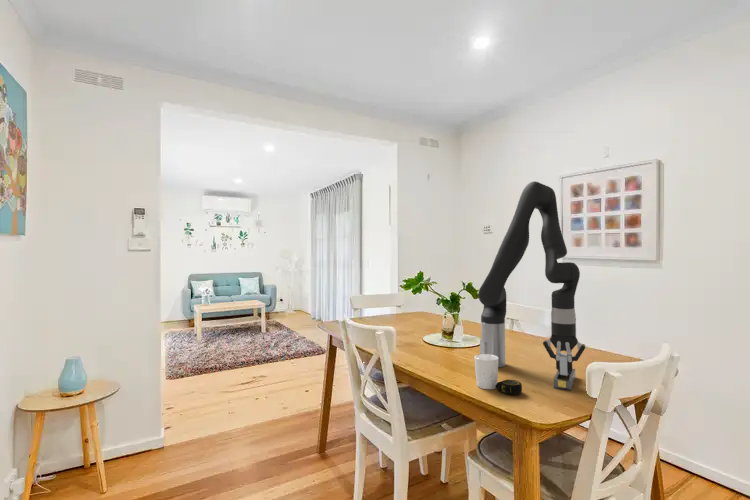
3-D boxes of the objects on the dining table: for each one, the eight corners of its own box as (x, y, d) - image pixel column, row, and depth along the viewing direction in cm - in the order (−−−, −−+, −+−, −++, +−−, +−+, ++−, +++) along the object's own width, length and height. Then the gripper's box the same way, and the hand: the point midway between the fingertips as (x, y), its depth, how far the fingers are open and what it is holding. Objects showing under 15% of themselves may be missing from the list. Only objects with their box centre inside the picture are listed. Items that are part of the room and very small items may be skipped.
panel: (567, 375, 128) (566, 357, 128) (559, 374, 129) (559, 356, 129) (568, 371, 132) (568, 354, 132) (561, 370, 133) (561, 353, 133)
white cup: (480, 380, 137) (480, 352, 137) (502, 385, 132) (501, 356, 132) (471, 386, 131) (470, 357, 131) (493, 392, 126) (492, 361, 126)
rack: (570, 391, 125) (570, 374, 125) (553, 388, 128) (553, 371, 128) (575, 377, 139) (575, 361, 139) (559, 374, 141) (559, 359, 141)
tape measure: (509, 388, 130) (509, 376, 130) (526, 394, 124) (526, 382, 124) (495, 392, 126) (495, 380, 126) (512, 398, 120) (512, 387, 120)
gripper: (539, 321, 131) (540, 371, 131) (585, 324, 124) (586, 378, 124) (543, 317, 137) (544, 365, 137) (587, 320, 130) (588, 371, 130)
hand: (564, 371), depth 130 cm, fingers closed on panel, 2 cm apart
